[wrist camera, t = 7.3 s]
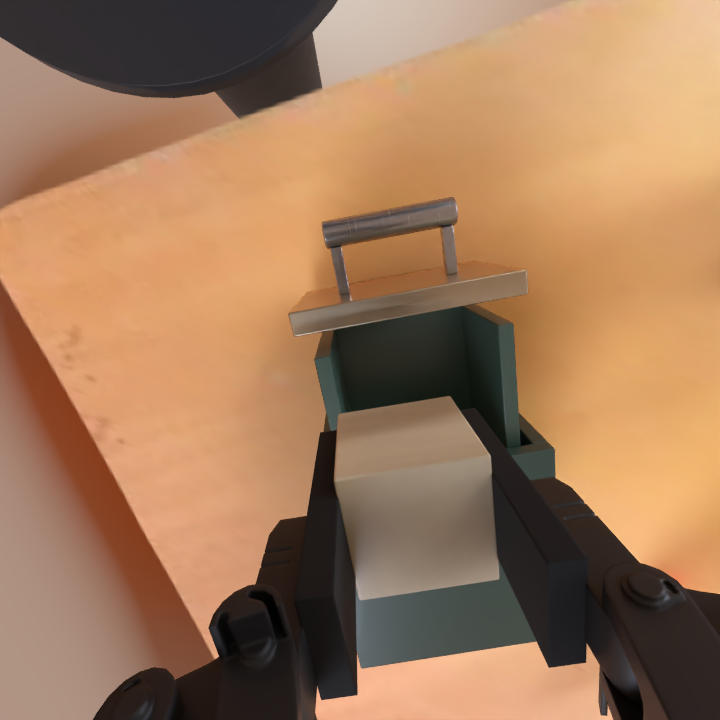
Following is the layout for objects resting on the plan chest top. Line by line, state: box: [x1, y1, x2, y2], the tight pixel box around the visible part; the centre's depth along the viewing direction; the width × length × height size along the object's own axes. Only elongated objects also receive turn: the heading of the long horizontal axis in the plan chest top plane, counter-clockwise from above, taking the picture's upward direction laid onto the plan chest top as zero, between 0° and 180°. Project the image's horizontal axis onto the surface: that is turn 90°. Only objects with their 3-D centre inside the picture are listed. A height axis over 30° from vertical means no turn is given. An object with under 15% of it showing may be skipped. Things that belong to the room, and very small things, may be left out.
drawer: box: [289, 197, 528, 449], centre depth 23 cm, size 16×11×8 cm
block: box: [334, 396, 499, 600], centre depth 12 cm, size 4×4×4 cm
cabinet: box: [324, 413, 555, 668], centre depth 26 cm, size 14×13×10 cm
